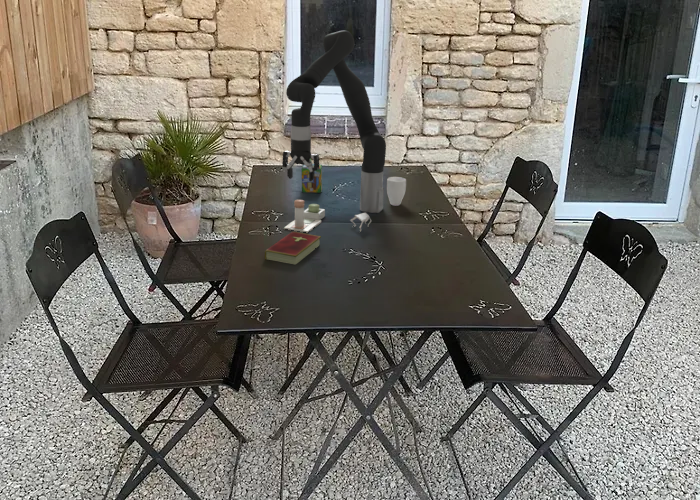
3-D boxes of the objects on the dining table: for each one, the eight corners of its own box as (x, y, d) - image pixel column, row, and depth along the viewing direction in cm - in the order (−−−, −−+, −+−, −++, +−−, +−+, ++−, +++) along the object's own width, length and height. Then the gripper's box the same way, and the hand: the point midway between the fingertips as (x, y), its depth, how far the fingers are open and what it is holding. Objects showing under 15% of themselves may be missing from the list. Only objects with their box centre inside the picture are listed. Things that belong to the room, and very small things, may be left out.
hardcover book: (264, 260, 232) (264, 249, 230) (291, 241, 250) (291, 230, 249) (295, 266, 228) (296, 255, 226) (320, 246, 246) (321, 235, 245)
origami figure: (348, 223, 270) (349, 211, 268) (369, 223, 271) (369, 211, 269) (352, 233, 259) (353, 221, 257) (373, 233, 260) (374, 221, 258)
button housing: (324, 216, 277) (324, 209, 275) (318, 221, 270) (318, 214, 269) (309, 213, 279) (309, 207, 278) (302, 218, 273) (302, 211, 271)
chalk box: (321, 193, 307) (321, 161, 301) (301, 192, 307) (301, 161, 301) (322, 187, 315) (322, 157, 310) (302, 187, 315) (303, 156, 310)
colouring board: (321, 222, 270) (321, 219, 269) (307, 233, 257) (307, 230, 257) (298, 218, 273) (298, 216, 272) (284, 229, 260) (284, 227, 260)
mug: (404, 207, 291) (406, 182, 287) (385, 206, 291) (387, 181, 287) (404, 199, 302) (406, 174, 298) (386, 198, 303) (387, 174, 298)
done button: (320, 211, 275) (320, 204, 274) (316, 214, 271) (316, 207, 270) (311, 210, 276) (311, 203, 275) (306, 213, 272) (306, 206, 271)
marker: (305, 225, 263) (305, 200, 259) (301, 228, 259) (301, 203, 256) (296, 224, 264) (296, 199, 260) (292, 226, 260) (292, 201, 257)
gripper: (322, 137, 250) (321, 179, 256) (287, 133, 254) (287, 174, 260) (314, 141, 243) (314, 184, 249) (279, 137, 248) (279, 179, 254)
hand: (300, 179), depth 255 cm, fingers open, 8 cm apart
